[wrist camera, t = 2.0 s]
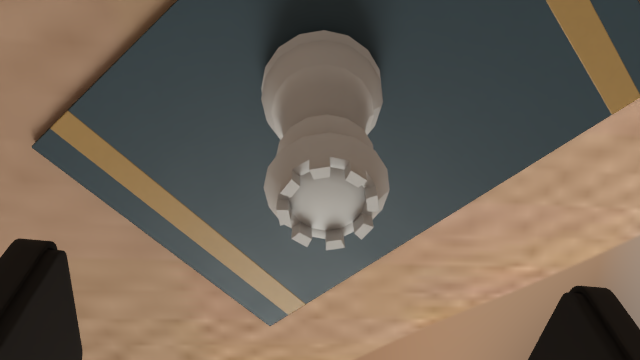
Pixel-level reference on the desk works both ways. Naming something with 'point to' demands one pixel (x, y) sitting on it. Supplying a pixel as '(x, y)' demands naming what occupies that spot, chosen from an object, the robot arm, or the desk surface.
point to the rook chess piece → (324, 138)
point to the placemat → (387, 136)
